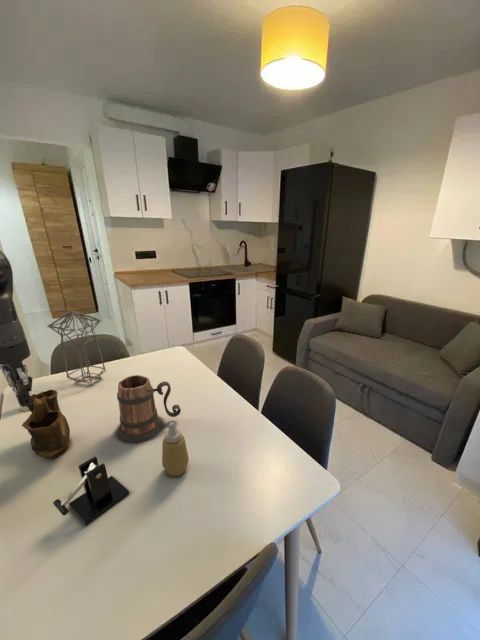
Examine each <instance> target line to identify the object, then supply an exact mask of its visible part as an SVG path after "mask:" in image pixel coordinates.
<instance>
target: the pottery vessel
mask: <svg viewBox="0 0 480 640" xmlns="http://www.w3.org/2000/svg"><path fill="white" fill-rule="evenodd" d="M58 394H59V392H58V390H56V389H48V390H45V391H44V390H43V391H41V392H39V393H37V394H36V393H32V395H31V396H30V398H31V401H32V403H31V404H29V405H27V406H26V407H28V408H29V410H28V411H30V413H31V414H29V416H28V417H27V419H26V420H24V422H23V423H22V424H21V427H23V428H24V429H25V430H27V432H28V433H29V435H30V436H31V438H30V448H31V451H32V452H34V453H35V454H36V455H39V456H40V457H43V458H55V457H58V456H60V455H63V454H64V453H66V452H67V450H69V448H70V447H71V439H70V437H71V433H70V432H71V429H70V425H69V422H68V420H67V417H66V416H65V415H64V414H63V412H62V411H61V408H60V406H59V405H60V404H59V401H58Z"/></svg>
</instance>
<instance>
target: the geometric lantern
mask: <svg viewBox="0 0 480 640" xmlns="http://www.w3.org/2000/svg"><path fill="white" fill-rule="evenodd" d="M62 319H63V320H62ZM61 320H62V321H61ZM59 321H61V322H59ZM78 321H79V322H80V324H81V326H82V327H79V324H78V323H79V322H78ZM89 321H90V322H89ZM94 321H95V322H94ZM101 321H102V319H100V318H97V317H94V316H92V315H89V314H86V313H83V312H80V311H77V310H70V311H69V312H67V313H66V314H64V315H62V316H61V317H59V318H58V319H56V320H55V321H53V322H51V323H49V324H48V325H47V328H49V329H50V330H52V331H54V332H55V333H57V334H58V335H59V336H60V342H59V343H60V347H61V352H62V357H63V362H64V363H63V364H64V368H65V373H66V378H67V379H69V380H72V381H74V384H75V385H78V386H79V385H80V386H84V387H85V386H86V387H90V386H92V385H94V384H96V383H97V382H99V381H101V380H102V377H101V376H102V375H103V374H104V373H106V372H107V369H106V366H105V363H104V359H103V354H102V351H101V348H100V343H99V340H98V336H97V335H98V334H97V333H96V331H95V328H96V327H97V326H98V325H99V324H100V323H101ZM57 322H58V323H57ZM75 322H76V326H77V331H78V332H80V334H79V333H78V332H77V331H76V326H75ZM90 323H91V324H90ZM64 324H65V325H64ZM71 324H72V327H70V326H71ZM58 325H59V326H58ZM63 325H64V327H63ZM88 328H90V330H89V331H88V330H87V329H88ZM56 329H57V330H56ZM66 331H67V333H65V332H66ZM73 332H74V333H75V334H74V335H71V334H72V333H73ZM90 333H92V334H90ZM69 335H71V336H69ZM64 336H66V338H64ZM79 336H81V340H82V341H81V343H80V337H79ZM74 337H76V338H77V343H76V342H75V341H74V340H73V339H72V338H74ZM86 337H93V338H91V339H90V340H87V341H85V339H86ZM66 340H70V342H71V343H67V342H64V341H66ZM94 340H95V344H96V347H97V350H98V354H99V357H100V360H101V363H102V367H101V366H96V365H90V360H89V356H88V352H87V347H86V344H88V343H90V342H92V341H94ZM65 345H71V346H75V349H76V352H77V358H78V362H79V366H80V367H79V368H77V369H75V370H73V371H72V372H70V373H69V371H68V363H67V358H66V352H65V351H66V349H65ZM84 362H85V365H84ZM90 367H91V368H95V369H96V368H97V369H102V370H101V371H100V372H99V373H96V372H90V369H89V368H90ZM85 368H86V370H87V371H85ZM78 371H80V372H81V375H80V376H78V377H71V376H70V375H72V374H74V373H76V372H78ZM93 375H94V376H93ZM81 377H82V378H81ZM79 378H81V379H79ZM85 378H88V379H85ZM96 379H97V380H96ZM95 380H96V381H95ZM93 381H94V382H93ZM79 382H80V383H79ZM92 382H93V383H92ZM82 383H86V384H82Z"/></svg>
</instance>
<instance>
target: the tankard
mask: <svg viewBox="0 0 480 640" xmlns="http://www.w3.org/2000/svg"><path fill="white" fill-rule="evenodd" d="M117 386H118V387H117V393H116V399H117V401H118V409H119V423H120V424H119V426H118V427H117V429H116V430H115V431H116V432H115V435H116V438H117V439H118V440H119V441H121V442H123V443H125V444H139V443H140V444H141V443H145V442H148V441H150V440H153V439H155V438H156V437H158V435H160V434H161V433H162V431H163V430H164V428H165V421H164V420H163V419H162V418H161V417H160V416H158V409H157V408H156V402H155V397H154V393H155V392H157V393H158V394H159V395H160V396H163V395H164V396H163V406H164V410H165V413H166V414H167V416H168V417H171V418H177V417H178V416H179V415H180V414H181V411H182V409H181V406H180V405H179V404H173V406H172V407H171V410H172V411H170V410H169V409H168V405H167V400H168V398H169V396H170V394H171V391H172V388H171V384H170V383H169V381H161V382H159V383H158V385H157V386H156V388H154V387H153V386H152V384H151V381H150V379H149V378H148V377H147V376H144V375H139V374H134V375H130V376H127V377H125V378H123V379H121V380H120V381H119V382H118V384H117ZM163 387H167V389H166V392H165V393H164V392H163Z"/></svg>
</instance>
